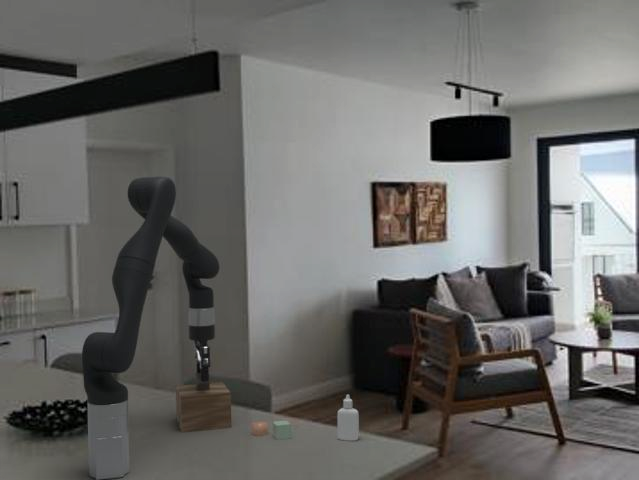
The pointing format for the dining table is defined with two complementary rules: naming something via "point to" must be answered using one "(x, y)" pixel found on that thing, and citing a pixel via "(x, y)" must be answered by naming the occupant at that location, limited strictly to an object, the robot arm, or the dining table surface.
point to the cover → (203, 406)
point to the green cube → (281, 429)
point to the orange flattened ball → (259, 428)
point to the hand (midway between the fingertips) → (202, 378)
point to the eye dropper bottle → (348, 421)
